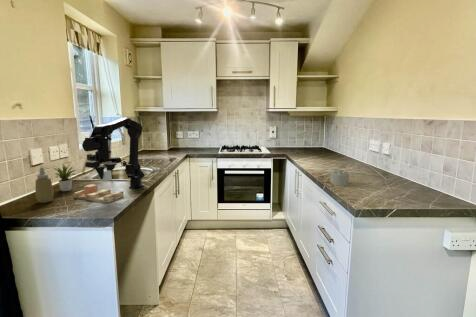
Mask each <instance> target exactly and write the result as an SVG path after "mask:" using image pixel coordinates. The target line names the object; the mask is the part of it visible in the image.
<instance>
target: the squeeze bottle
mask: <svg viewBox="0 0 476 317" xmlns="http://www.w3.org/2000/svg"><path fill="white" fill-rule="evenodd" d="M39 169H40V170H39V174H37V175H36V177H37V178H36V179H35V198H36V200H37V201H38V203H40V204H42V203H44V204H45V203H50V202H52V201H53V200H54V195H55V192H54V186H53V184H52V179H51V178H50V177H49V174H48V173H46V172H45V169H44V167H40V168H39Z"/></svg>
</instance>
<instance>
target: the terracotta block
mask: <svg viewBox="0 0 476 317" xmlns="http://www.w3.org/2000/svg"><path fill="white" fill-rule="evenodd" d="M83 190H85V195H87V194H90V193H93V192H97V191H98V184H92V183H91V184H88V185H84V186H83Z"/></svg>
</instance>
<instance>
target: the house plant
mask: <svg viewBox="0 0 476 317" xmlns="http://www.w3.org/2000/svg"><path fill="white" fill-rule="evenodd" d="M70 165H71V163H69V164H68V165H67V166H66V164H62V169H61V168H60V167H57V168H56V167H55V168H52V170H54V171H56V172H55V173H54V175H55V179H57V178H59V180H58V185H59V188H60V191H61V192H68V191H71V190H72V186H73V185H72V184H73V178H71V177H72V176H75V175H77V172H76V171H77V169H75V167H76V164H74V165H72V166H70ZM69 167H70V168H69ZM73 169H74V170H73Z"/></svg>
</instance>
